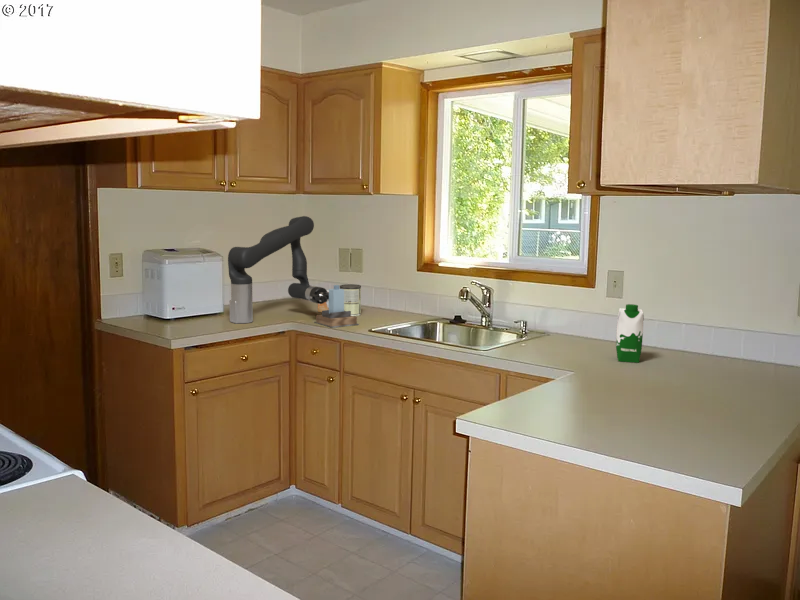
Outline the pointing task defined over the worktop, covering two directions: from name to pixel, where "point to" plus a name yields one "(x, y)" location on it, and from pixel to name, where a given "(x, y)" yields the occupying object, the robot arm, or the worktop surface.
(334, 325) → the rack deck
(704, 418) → the worktop surface
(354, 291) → the coffee can
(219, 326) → the worktop surface
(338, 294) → the blue rectangular bottle
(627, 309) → the milk carton
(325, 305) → the small box
